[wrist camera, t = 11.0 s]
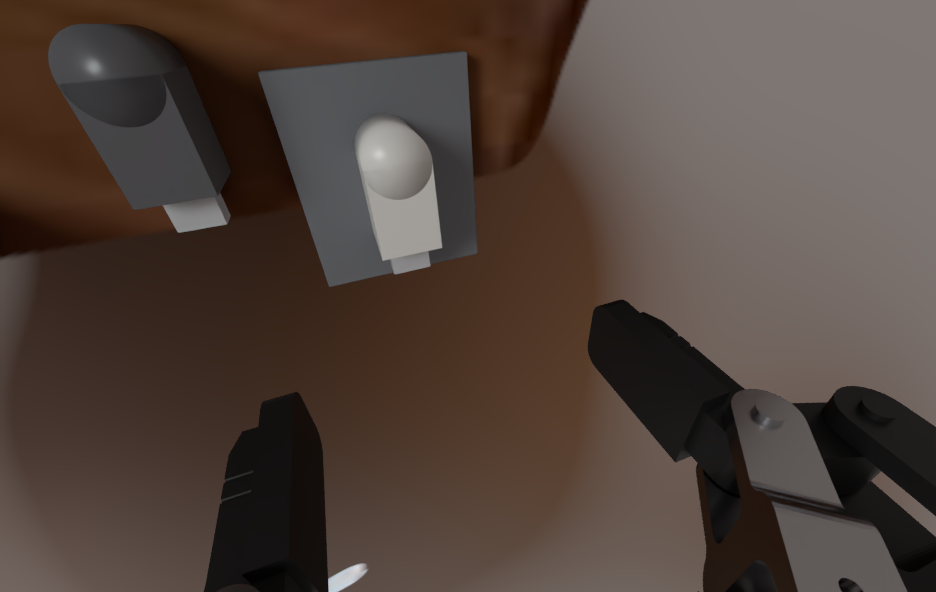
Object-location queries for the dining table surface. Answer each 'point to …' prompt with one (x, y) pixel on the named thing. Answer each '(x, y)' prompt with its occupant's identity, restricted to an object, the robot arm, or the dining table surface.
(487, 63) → the dining table surface
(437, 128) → the felt pad
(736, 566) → the robot arm
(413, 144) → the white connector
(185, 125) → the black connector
